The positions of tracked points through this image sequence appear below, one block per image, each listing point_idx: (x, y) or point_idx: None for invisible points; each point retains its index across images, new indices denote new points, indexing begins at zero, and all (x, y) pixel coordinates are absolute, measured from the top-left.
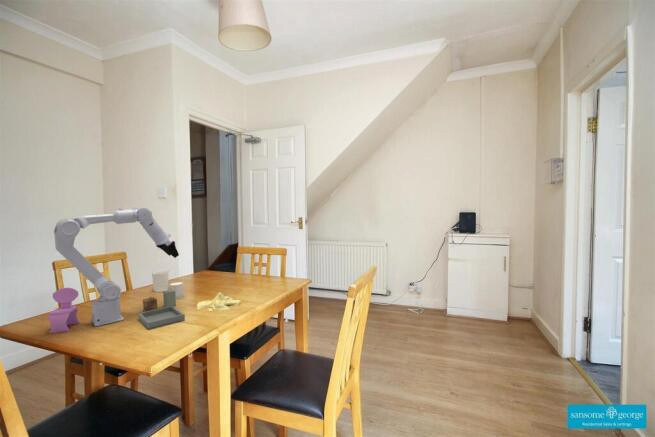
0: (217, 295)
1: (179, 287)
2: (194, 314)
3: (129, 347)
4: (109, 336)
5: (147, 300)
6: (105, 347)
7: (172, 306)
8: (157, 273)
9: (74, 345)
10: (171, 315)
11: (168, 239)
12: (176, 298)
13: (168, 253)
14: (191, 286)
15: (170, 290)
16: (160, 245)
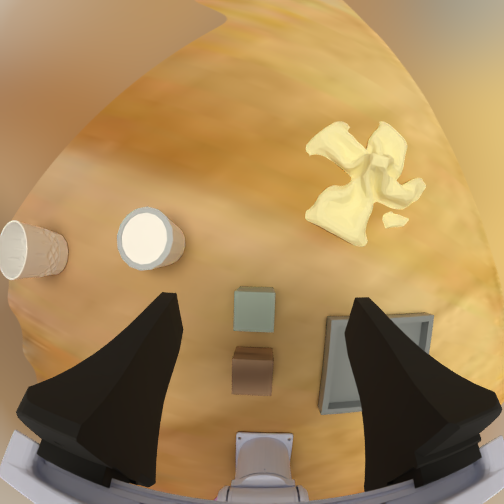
0: (383, 172)
1: (175, 237)
2: (402, 274)
3: None
4: None
5: (261, 387)
6: None
7: (340, 322)
8: (3, 253)
9: (364, 491)
10: None
11: (480, 496)
12: (182, 253)
13: (176, 346)
14: (82, 161)
15: (249, 304)
16: (143, 467)
